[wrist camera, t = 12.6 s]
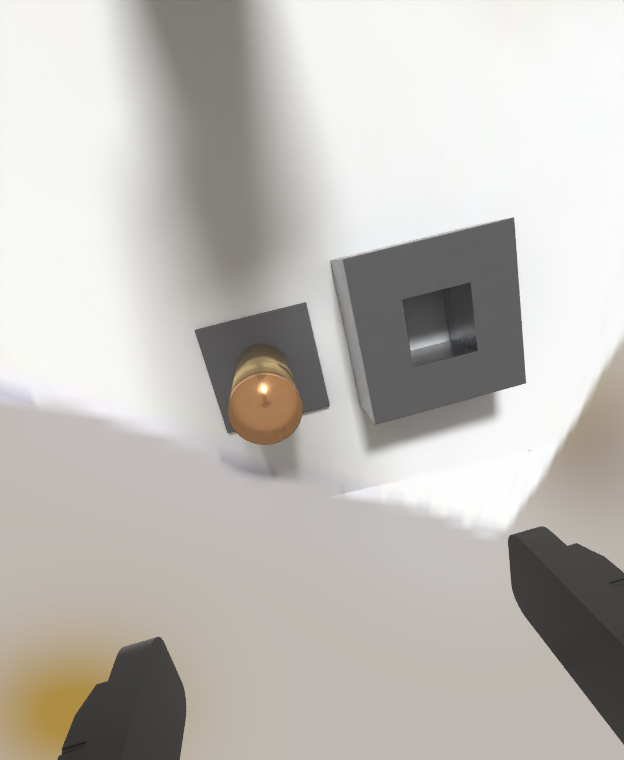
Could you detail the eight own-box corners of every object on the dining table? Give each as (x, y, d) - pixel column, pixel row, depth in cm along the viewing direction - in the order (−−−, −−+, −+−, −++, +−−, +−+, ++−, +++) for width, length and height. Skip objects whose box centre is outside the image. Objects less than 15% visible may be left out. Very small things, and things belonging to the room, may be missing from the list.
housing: (330, 260, 35) (342, 259, 30) (479, 224, 36) (513, 217, 31) (360, 405, 39) (375, 424, 34) (493, 369, 40) (526, 383, 35)
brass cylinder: (229, 351, 35) (218, 385, 25) (281, 337, 36) (292, 366, 25) (244, 400, 37) (240, 452, 26) (294, 387, 37) (309, 433, 27)
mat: (195, 329, 35) (194, 330, 34) (305, 302, 36) (305, 302, 35) (227, 431, 38) (227, 433, 37) (329, 404, 38) (329, 405, 38)
